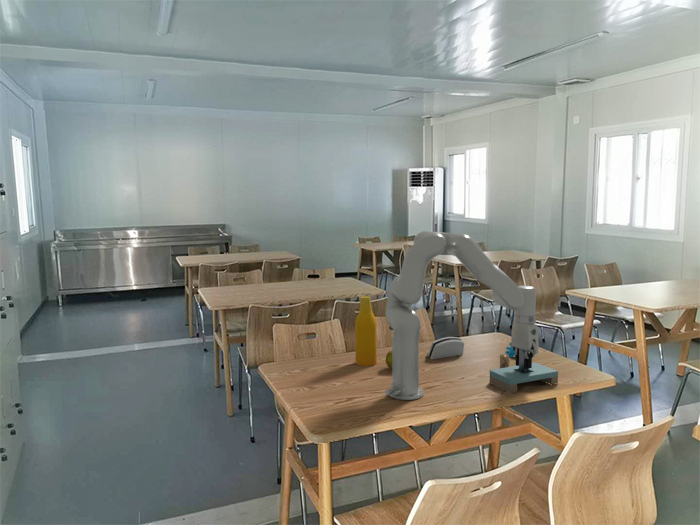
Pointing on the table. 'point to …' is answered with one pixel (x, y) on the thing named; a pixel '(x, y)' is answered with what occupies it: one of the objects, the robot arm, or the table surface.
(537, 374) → the hole bridge
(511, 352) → the gear
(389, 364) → the fruit
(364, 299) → the beer bottle
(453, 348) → the napkin holder
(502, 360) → the short pin
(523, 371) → the tall pin
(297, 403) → the table surface
